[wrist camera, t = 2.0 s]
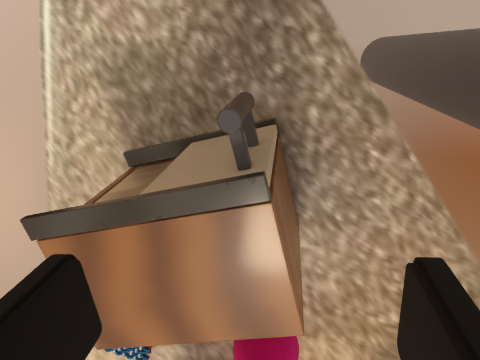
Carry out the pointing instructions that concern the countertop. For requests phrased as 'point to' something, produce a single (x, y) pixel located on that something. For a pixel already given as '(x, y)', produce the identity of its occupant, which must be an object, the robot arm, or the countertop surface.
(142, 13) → the countertop surface
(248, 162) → the sliding door
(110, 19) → the countertop surface
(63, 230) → the cabinet
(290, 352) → the pepper mill
